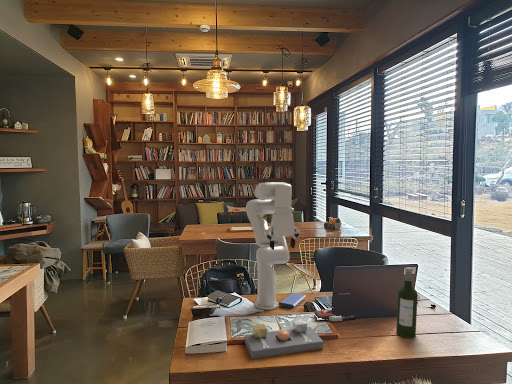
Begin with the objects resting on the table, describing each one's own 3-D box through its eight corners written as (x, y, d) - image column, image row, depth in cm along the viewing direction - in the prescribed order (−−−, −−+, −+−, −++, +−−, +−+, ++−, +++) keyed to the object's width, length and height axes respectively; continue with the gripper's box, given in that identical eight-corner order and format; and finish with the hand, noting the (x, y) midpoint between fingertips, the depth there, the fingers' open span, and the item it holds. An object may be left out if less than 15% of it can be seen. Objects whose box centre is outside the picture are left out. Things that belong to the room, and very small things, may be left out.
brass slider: (252, 333, 146) (252, 325, 145) (264, 331, 147) (264, 324, 147) (255, 338, 142) (255, 329, 141) (266, 336, 143) (266, 328, 143)
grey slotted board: (244, 341, 145) (244, 334, 145) (309, 333, 153) (310, 326, 153) (252, 358, 133) (252, 350, 133) (323, 348, 141) (323, 340, 141)
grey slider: (292, 328, 150) (292, 320, 150) (303, 326, 152) (303, 319, 151) (296, 332, 146) (296, 324, 146) (306, 331, 148) (307, 323, 148)
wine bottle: (413, 331, 156) (416, 266, 153) (417, 339, 148) (420, 271, 146) (395, 328, 158) (397, 264, 155) (397, 337, 150) (400, 270, 148)
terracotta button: (275, 336, 145) (275, 330, 144) (286, 335, 146) (286, 328, 146) (279, 342, 140) (279, 335, 140) (290, 340, 141) (290, 334, 141)
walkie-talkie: (318, 324, 163) (357, 320, 167) (318, 315, 162) (357, 311, 167) (311, 316, 171) (348, 312, 176) (311, 307, 171) (348, 304, 175)
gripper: (297, 209, 161) (296, 245, 163) (262, 210, 156) (261, 247, 158) (304, 211, 154) (303, 249, 155) (267, 212, 149) (266, 251, 151)
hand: (282, 248), depth 157 cm, fingers open, 9 cm apart
